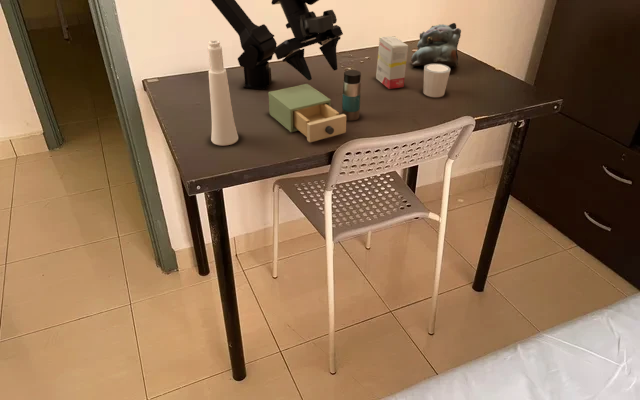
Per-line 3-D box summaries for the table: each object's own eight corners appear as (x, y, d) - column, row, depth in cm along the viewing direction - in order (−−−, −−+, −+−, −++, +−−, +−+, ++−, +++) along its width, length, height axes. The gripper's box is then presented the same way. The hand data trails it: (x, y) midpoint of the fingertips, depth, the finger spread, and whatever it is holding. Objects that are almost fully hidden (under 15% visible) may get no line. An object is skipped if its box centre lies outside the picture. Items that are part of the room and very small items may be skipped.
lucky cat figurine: (401, 65, 152) (407, 18, 151) (425, 72, 160) (431, 28, 159) (443, 64, 141) (450, 13, 140) (466, 72, 150) (473, 23, 148)
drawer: (348, 134, 114) (349, 117, 112) (312, 144, 110) (312, 127, 108) (322, 115, 122) (322, 99, 120) (287, 124, 118) (287, 107, 116)
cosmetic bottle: (238, 132, 116) (229, 36, 104) (238, 145, 111) (228, 46, 99) (212, 133, 116) (199, 37, 103) (210, 146, 111) (197, 47, 98)
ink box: (404, 87, 139) (409, 44, 132) (388, 89, 138) (392, 46, 131) (391, 76, 146) (394, 35, 139) (375, 78, 144) (378, 36, 137)
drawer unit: (330, 122, 121) (330, 99, 118) (291, 132, 117) (290, 109, 113) (307, 105, 129) (307, 83, 126) (269, 114, 124) (268, 92, 121)
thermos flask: (343, 121, 122) (344, 76, 115) (340, 113, 125) (342, 69, 119) (360, 120, 122) (363, 75, 116) (357, 112, 126) (360, 69, 119)
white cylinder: (449, 90, 137) (453, 65, 133) (443, 100, 132) (447, 74, 128) (424, 86, 140) (427, 61, 136) (417, 95, 135) (420, 69, 131)
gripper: (288, 6, 110) (317, 73, 113) (344, -8, 121) (369, 54, 124) (261, 27, 119) (289, 89, 121) (316, 12, 130) (340, 69, 133)
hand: (323, 74), depth 125 cm, fingers open, 9 cm apart
